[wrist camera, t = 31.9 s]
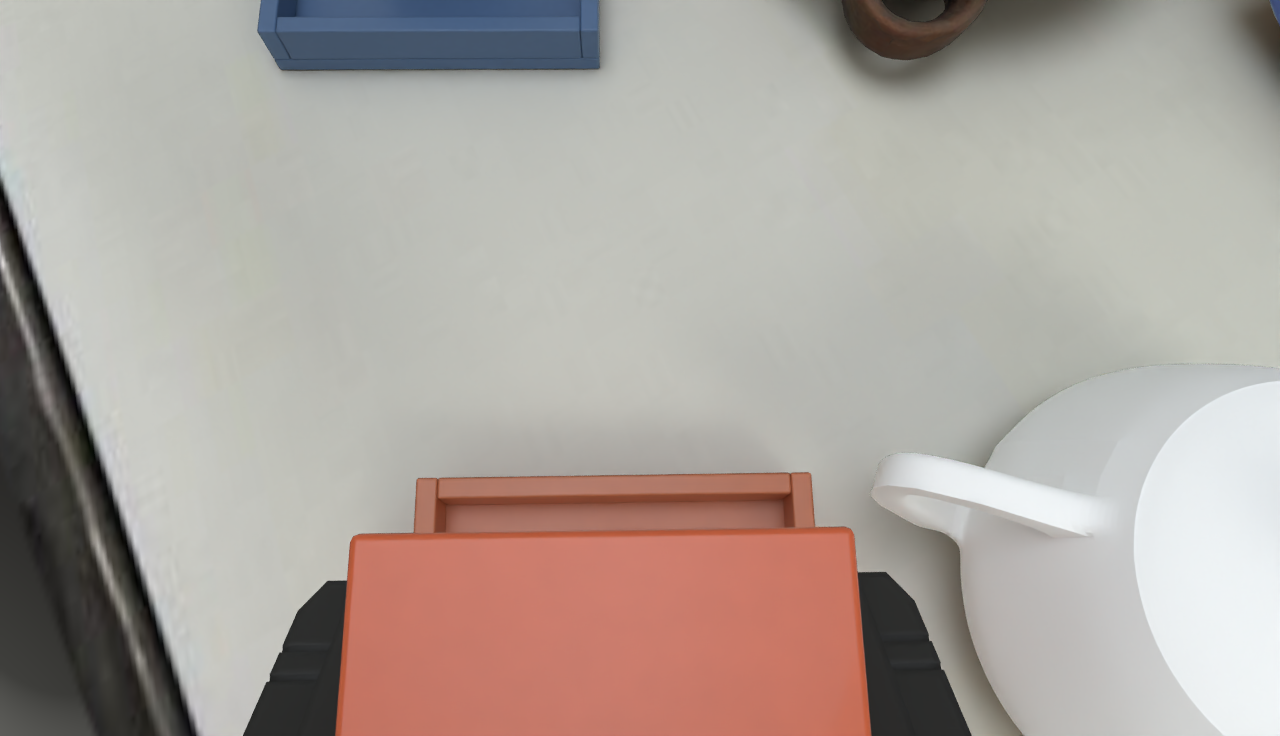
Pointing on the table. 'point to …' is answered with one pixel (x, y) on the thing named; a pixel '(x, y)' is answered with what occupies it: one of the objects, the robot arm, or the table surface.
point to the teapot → (1121, 553)
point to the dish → (908, 27)
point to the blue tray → (431, 34)
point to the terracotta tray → (614, 502)
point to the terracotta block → (604, 634)
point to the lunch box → (1276, 9)
